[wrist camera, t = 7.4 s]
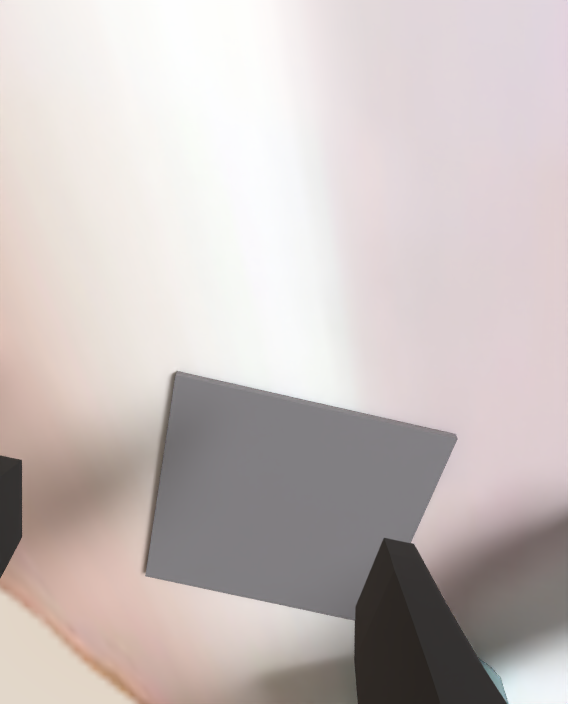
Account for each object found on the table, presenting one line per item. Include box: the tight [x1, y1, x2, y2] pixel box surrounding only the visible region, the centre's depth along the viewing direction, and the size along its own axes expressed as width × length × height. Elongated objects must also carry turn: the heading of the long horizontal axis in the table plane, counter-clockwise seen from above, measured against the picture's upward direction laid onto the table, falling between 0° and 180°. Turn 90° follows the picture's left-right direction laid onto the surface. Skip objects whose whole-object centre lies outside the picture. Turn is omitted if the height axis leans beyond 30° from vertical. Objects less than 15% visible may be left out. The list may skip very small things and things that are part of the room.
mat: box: [145, 371, 457, 620], centre depth 23 cm, size 11×11×1 cm
